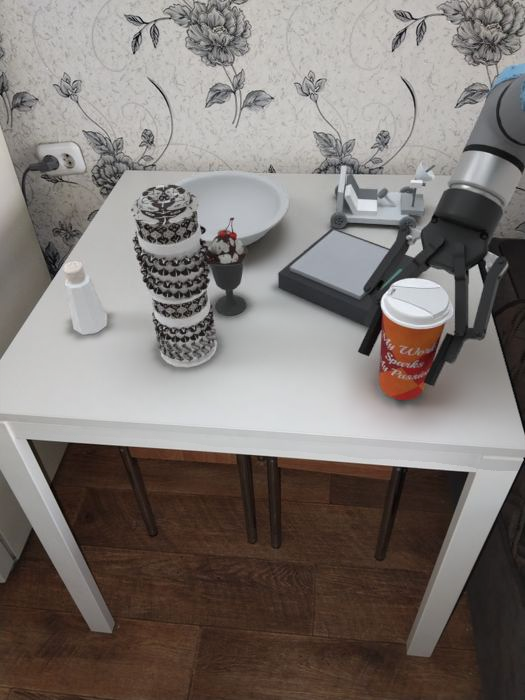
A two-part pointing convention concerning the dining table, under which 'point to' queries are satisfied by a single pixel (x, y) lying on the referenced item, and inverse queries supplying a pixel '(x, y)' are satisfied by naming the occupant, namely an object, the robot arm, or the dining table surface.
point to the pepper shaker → (83, 300)
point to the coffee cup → (410, 335)
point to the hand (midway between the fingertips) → (395, 368)
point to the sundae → (227, 269)
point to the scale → (337, 273)
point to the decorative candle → (175, 273)
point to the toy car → (379, 201)
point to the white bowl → (236, 203)
